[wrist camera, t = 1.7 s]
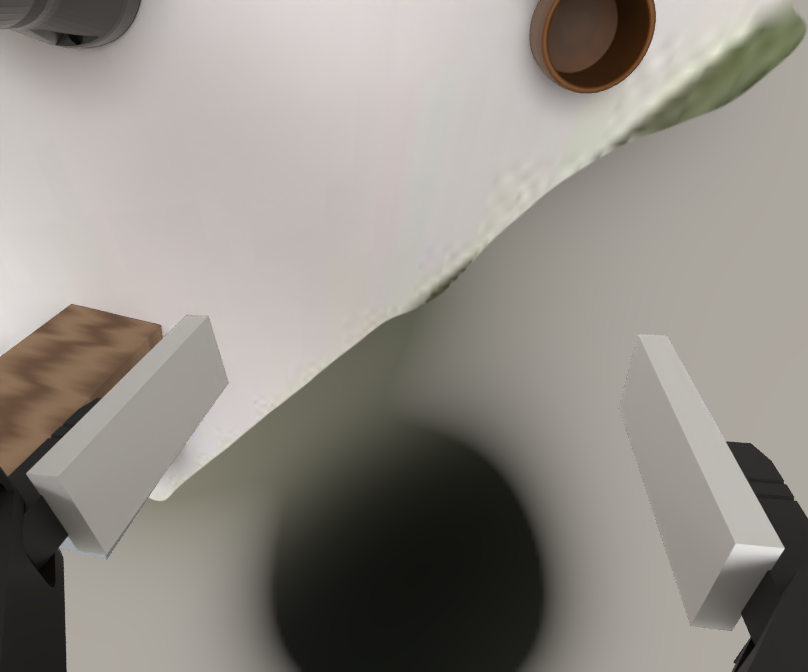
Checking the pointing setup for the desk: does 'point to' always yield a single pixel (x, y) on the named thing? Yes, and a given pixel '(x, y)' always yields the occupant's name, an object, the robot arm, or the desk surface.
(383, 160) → the desk surface
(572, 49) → the mug
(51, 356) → the walnut post
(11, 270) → the desk surface
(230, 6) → the desk surface
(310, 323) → the desk surface
